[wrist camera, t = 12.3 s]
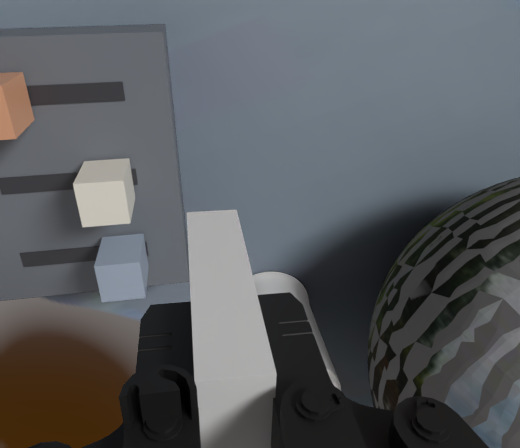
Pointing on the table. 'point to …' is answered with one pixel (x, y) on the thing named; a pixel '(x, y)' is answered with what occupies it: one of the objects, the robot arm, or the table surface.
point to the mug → (287, 283)
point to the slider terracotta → (14, 105)
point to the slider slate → (122, 268)
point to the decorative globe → (456, 317)
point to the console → (88, 155)
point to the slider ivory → (105, 192)
